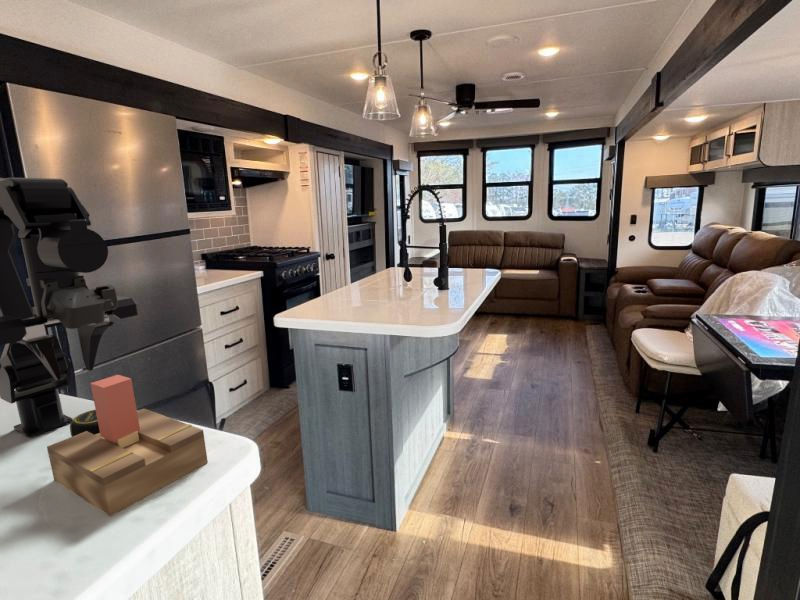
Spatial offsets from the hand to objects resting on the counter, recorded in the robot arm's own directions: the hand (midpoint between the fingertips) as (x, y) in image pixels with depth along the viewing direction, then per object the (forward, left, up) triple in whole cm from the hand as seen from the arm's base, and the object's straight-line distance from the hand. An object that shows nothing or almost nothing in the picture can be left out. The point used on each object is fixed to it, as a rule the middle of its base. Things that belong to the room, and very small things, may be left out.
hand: (74, 374), depth 67 cm
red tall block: (+11, 0, -8) cm, 14 cm away
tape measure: (-3, +4, -12) cm, 13 cm away
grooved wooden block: (+12, 0, -12) cm, 17 cm away
